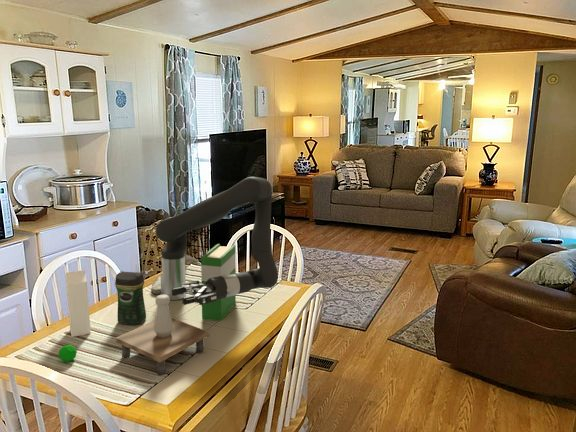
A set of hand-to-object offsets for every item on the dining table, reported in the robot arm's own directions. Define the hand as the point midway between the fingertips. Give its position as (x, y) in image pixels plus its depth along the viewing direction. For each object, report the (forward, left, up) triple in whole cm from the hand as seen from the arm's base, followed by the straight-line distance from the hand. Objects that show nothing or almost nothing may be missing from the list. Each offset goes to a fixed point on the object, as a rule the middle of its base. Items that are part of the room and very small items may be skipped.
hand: (177, 296), depth 148 cm
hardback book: (-10, +30, -18) cm, 37 cm away
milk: (-36, -12, -18) cm, 42 cm away
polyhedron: (-22, -25, -18) cm, 38 cm away
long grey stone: (-49, +40, -19) cm, 66 cm away
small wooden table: (-2, -5, -18) cm, 19 cm away
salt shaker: (-1, -5, -12) cm, 13 cm away
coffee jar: (-29, +4, -18) cm, 34 cm away
